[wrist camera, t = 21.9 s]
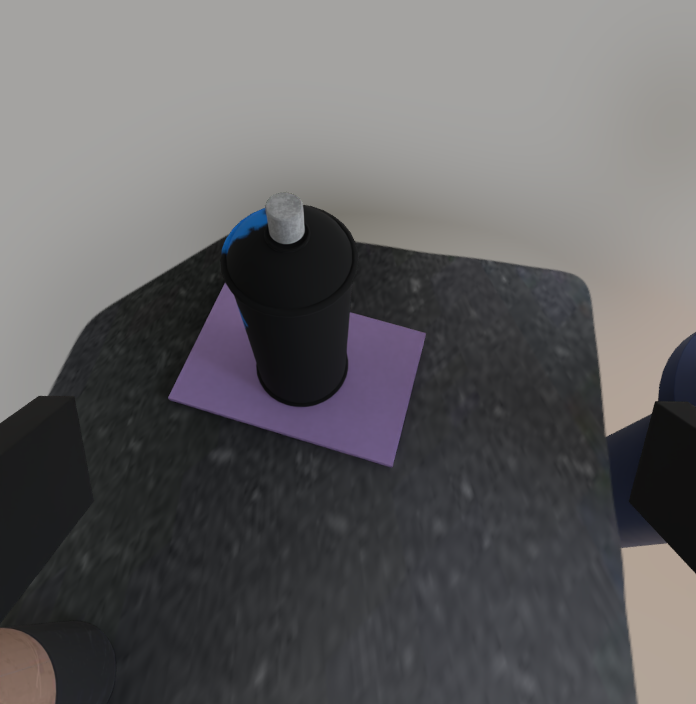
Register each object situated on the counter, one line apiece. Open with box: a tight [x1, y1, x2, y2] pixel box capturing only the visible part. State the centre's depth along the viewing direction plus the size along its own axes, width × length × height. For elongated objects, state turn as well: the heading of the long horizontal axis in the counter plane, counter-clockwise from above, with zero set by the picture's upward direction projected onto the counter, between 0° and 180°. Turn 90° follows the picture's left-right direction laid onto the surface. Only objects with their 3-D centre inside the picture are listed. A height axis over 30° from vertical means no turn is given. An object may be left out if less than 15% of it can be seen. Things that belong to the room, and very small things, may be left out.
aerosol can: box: [220, 192, 358, 407], centre depth 33 cm, size 8×8×20 cm
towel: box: [168, 283, 426, 467], centre depth 43 cm, size 20×13×1 cm, turn 74°
